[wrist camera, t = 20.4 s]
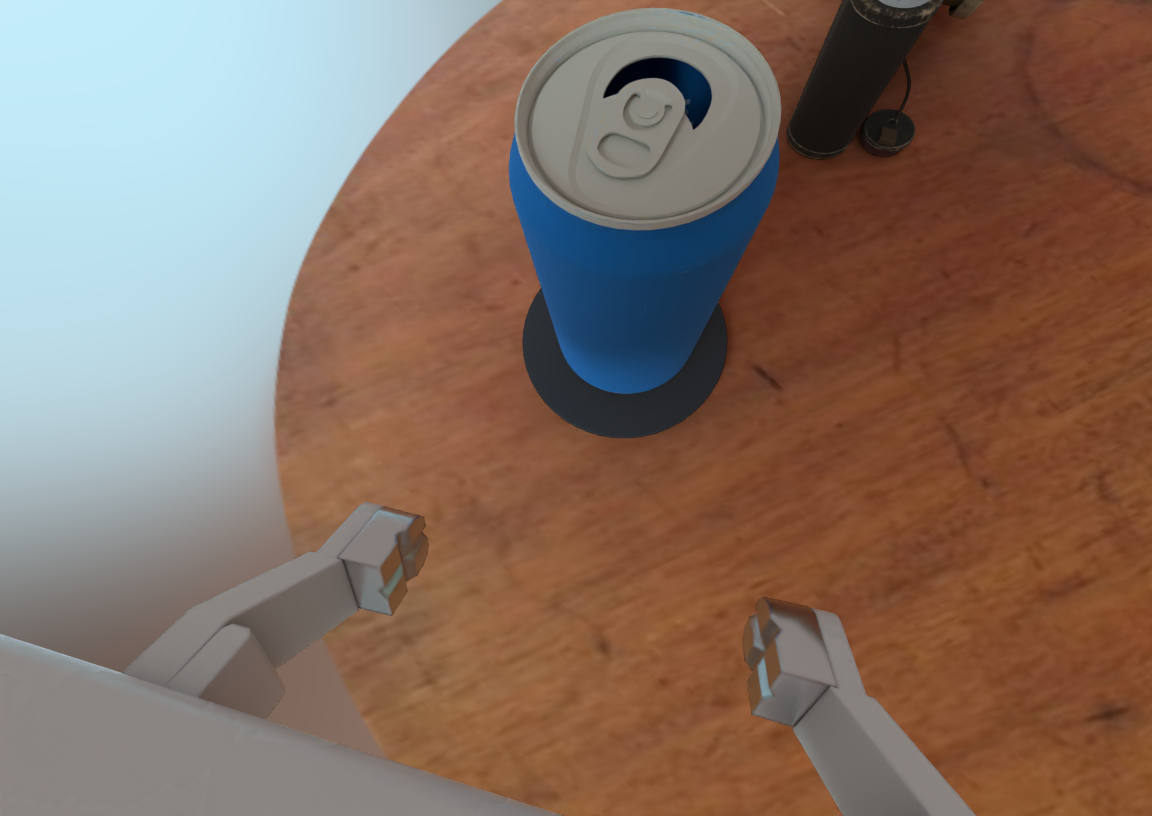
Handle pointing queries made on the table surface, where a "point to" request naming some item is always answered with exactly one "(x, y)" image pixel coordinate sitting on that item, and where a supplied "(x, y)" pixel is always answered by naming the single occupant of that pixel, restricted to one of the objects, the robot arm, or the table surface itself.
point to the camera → (863, 77)
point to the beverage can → (642, 184)
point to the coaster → (615, 409)
